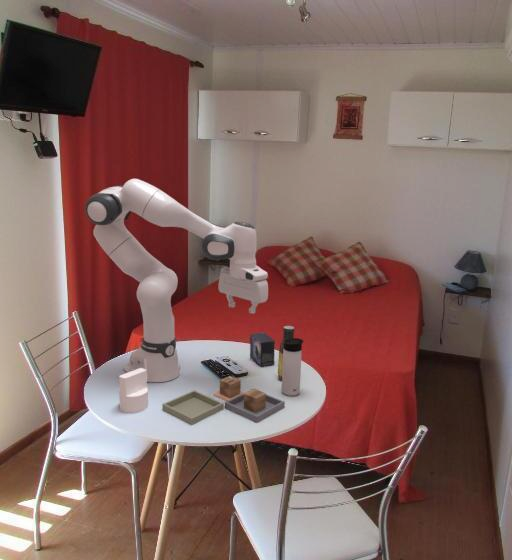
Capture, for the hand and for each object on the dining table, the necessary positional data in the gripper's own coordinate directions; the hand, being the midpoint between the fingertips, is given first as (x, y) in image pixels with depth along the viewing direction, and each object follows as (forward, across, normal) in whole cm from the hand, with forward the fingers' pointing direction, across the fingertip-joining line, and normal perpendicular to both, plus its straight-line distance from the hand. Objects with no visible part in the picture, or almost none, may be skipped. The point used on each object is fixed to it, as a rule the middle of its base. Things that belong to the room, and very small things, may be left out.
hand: (241, 309), depth 179 cm
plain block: (+28, +15, -9) cm, 33 cm away
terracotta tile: (+28, +3, -8) cm, 30 cm away
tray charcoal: (+28, +15, -9) cm, 33 cm away
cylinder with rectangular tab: (+29, -14, -35) cm, 48 cm away
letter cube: (+28, +3, -8) cm, 29 cm away
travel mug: (+29, +17, +8) cm, 34 cm away
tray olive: (+28, +2, -24) cm, 37 cm away
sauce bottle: (+29, +7, +17) cm, 34 cm away
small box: (+29, -10, +23) cm, 38 cm away
